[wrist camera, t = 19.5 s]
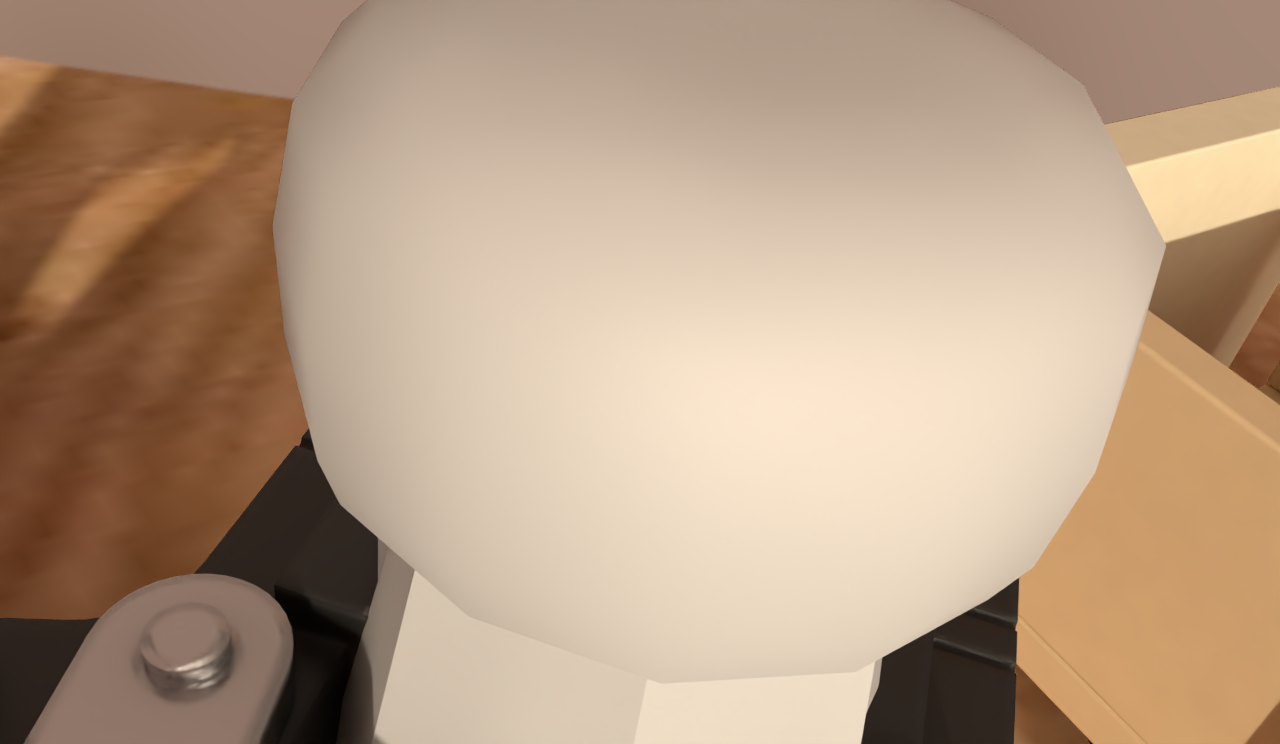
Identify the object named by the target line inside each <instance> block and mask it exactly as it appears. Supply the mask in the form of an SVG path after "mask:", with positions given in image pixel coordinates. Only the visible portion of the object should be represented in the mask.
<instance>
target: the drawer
mask: <svg viewBox="0 0 1280 744" xmlns="http://www.w3.org/2000/svg"><path fill="white" fill-rule="evenodd" d="M1104 125H1105V127H1106V129H1107V131H1108V133H1109V135H1110V137H1111V139H1112V141H1113V143H1114V145H1115V147H1116V148H1117V150H1118V152H1119V154H1120V156H1121V158H1122V160H1123V162H1124V164H1125V166H1126V168H1127V170H1128V172H1129V174H1130V176H1131V178H1132V180H1133V182H1134V184H1135V186H1136V188H1137V190H1138V192H1139V193H1140V195H1141V197H1142V199H1143V201H1144V203H1145V205H1146V207H1147V209H1148V211H1149V213H1150V215H1151V217H1152V219H1153V221H1154V223H1155V225H1156V227H1157V229H1158V231H1159V233H1160V235H1161V237H1162V238H1163V240H1164V242H1165V244H1166V248H1165V252H1164V255H1163V259H1162V262H1161V266H1160V269H1159V273H1158V276H1157V280H1156V283H1155V287H1154V290H1153V294H1152V297H1151V301H1150V304H1149V308H1148V311H1147V315H1146V318H1145V321H1144V325H1143V328H1142V332H1141V335H1140V339H1139V342H1138V346H1137V349H1136V353H1135V356H1134V360H1133V363H1132V366H1131V369H1130V372H1129V375H1128V378H1127V381H1126V384H1125V387H1124V390H1123V393H1122V395H1121V398H1120V401H1119V404H1118V407H1117V410H1116V413H1115V416H1114V419H1113V422H1112V425H1111V428H1110V431H1109V434H1108V437H1107V439H1106V442H1105V445H1104V448H1103V451H1102V454H1101V457H1100V460H1099V463H1098V466H1097V469H1096V472H1095V474H1094V475H1093V477H1092V478H1091V480H1090V481H1089V483H1088V485H1087V486H1086V488H1085V489H1084V491H1083V492H1082V494H1081V495H1080V497H1079V498H1078V500H1077V501H1076V503H1075V504H1074V506H1073V508H1072V509H1071V511H1070V512H1069V514H1068V515H1067V517H1066V518H1065V520H1064V521H1063V523H1062V524H1061V526H1060V527H1059V529H1058V530H1057V532H1056V534H1055V535H1054V537H1053V538H1052V540H1051V541H1050V543H1049V544H1048V546H1047V547H1046V549H1045V550H1044V552H1043V553H1042V555H1041V556H1040V558H1039V560H1038V561H1037V563H1036V564H1035V566H1034V567H1033V568H1032V569H1030V570H1029V571H1028V572H1026V573H1025V574H1023V575H1022V576H1021V577H1019V601H1018V622H1017V625H1016V629H1015V631H1017V660H1016V664H1017V665H1018V666H1019V667H1020V668H1021V669H1022V670H1023V671H1024V672H1025V674H1026V675H1027V676H1028V677H1029V678H1030V679H1031V680H1032V681H1033V682H1034V683H1035V684H1036V685H1037V686H1038V687H1039V688H1040V689H1041V690H1042V691H1043V692H1044V693H1045V694H1046V695H1047V696H1048V697H1049V699H1050V700H1051V701H1052V702H1053V703H1054V704H1055V705H1056V706H1057V707H1058V708H1059V709H1060V710H1061V711H1062V712H1063V713H1064V714H1065V715H1066V716H1067V717H1068V718H1069V719H1070V720H1071V721H1072V723H1073V724H1074V725H1075V726H1076V727H1077V728H1078V729H1079V730H1080V731H1081V732H1082V733H1083V734H1084V735H1085V736H1086V737H1087V738H1088V739H1089V740H1090V741H1091V742H1092V743H1093V744H1280V362H1279V363H1278V365H1277V366H1276V368H1275V370H1274V371H1273V373H1272V374H1271V376H1270V378H1269V379H1268V384H1266V385H1263V386H1261V387H1259V388H1256V387H1254V386H1253V385H1252V384H1250V383H1249V382H1247V381H1246V380H1245V379H1243V378H1242V377H1241V376H1239V375H1238V374H1236V373H1235V372H1234V371H1232V370H1231V369H1229V368H1228V367H1229V366H1230V364H1231V363H1232V361H1233V359H1234V358H1235V356H1236V354H1237V353H1238V351H1239V349H1240V348H1241V346H1242V344H1243V343H1244V341H1245V339H1246V337H1247V336H1248V334H1249V332H1250V331H1251V329H1252V327H1253V326H1254V324H1255V322H1256V321H1257V319H1258V317H1259V316H1260V314H1261V312H1262V311H1263V309H1264V307H1265V306H1266V304H1267V302H1268V301H1269V299H1270V297H1271V296H1272V294H1273V292H1274V291H1275V289H1276V287H1277V285H1278V284H1279V282H1280V86H1279V87H1274V88H1270V89H1265V90H1261V91H1256V92H1251V93H1247V94H1242V95H1237V96H1233V97H1229V98H1224V99H1219V100H1214V101H1210V102H1205V103H1201V104H1196V105H1192V106H1187V107H1182V108H1177V109H1173V110H1168V111H1164V112H1159V113H1154V114H1149V115H1145V116H1140V117H1136V118H1131V119H1126V120H1122V121H1117V122H1112V123H1108V124H1104Z"/></svg>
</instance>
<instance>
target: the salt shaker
mask: <svg viewBox="0 0 1280 744" xmlns="http://www.w3.org/2000/svg"><path fill="white" fill-rule="evenodd" d="M272 228H273V237H274V246H275V255H276V264H277V273H278V282H279V291H280V300H281V309H282V318H283V328H284V335H285V339H286V343H287V346H288V350H289V354H290V358H291V362H292V365H293V369H294V373H295V377H296V381H297V385H298V388H299V392H300V396H301V400H302V404H303V407H304V411H305V415H306V419H307V423H308V426H309V430H310V434H311V438H312V442H313V445H314V449H315V453H316V457H317V461H318V463H319V465H320V467H321V469H322V471H323V472H324V474H325V476H326V478H327V480H328V482H329V484H330V486H331V488H332V490H333V492H334V494H335V496H336V498H337V499H338V501H339V503H340V505H341V506H342V507H344V508H345V509H346V510H347V511H348V512H349V513H350V514H352V515H353V516H354V517H355V518H356V519H357V520H358V521H360V522H361V523H362V524H363V525H364V526H365V527H366V528H368V529H369V530H370V531H371V532H372V533H373V534H374V535H376V536H377V537H378V583H377V586H376V590H375V593H374V596H373V600H372V603H371V606H370V610H369V613H368V615H369V617H368V620H367V622H366V625H365V627H364V630H363V633H362V637H361V640H360V643H359V646H358V650H357V653H356V656H355V660H354V663H353V666H352V670H351V673H350V676H349V680H348V683H347V686H346V690H345V693H344V696H343V701H342V708H341V714H340V721H339V727H338V734H337V740H336V744H861V741H862V735H863V729H864V723H865V717H866V713H867V711H868V708H869V706H870V704H871V702H872V700H873V697H874V695H875V693H876V691H877V689H878V686H879V679H880V671H881V663H882V657H884V656H886V655H888V654H889V653H891V652H893V651H895V650H897V649H899V648H900V647H902V646H904V645H906V644H908V643H910V642H911V641H913V640H915V639H917V638H919V637H921V636H922V635H924V634H926V633H928V632H930V631H932V630H933V629H935V628H937V627H939V626H941V625H943V624H944V623H946V622H948V621H950V620H952V619H954V618H955V617H957V616H959V615H961V614H963V613H964V612H966V611H968V610H970V609H972V608H974V607H975V606H977V605H979V604H981V603H983V602H985V601H986V600H988V599H990V598H991V597H992V596H994V595H995V594H997V593H998V592H999V591H1001V590H1002V589H1004V588H1005V587H1006V586H1008V585H1009V584H1011V583H1012V582H1014V581H1015V580H1016V579H1018V578H1019V577H1021V576H1022V575H1023V574H1025V573H1026V572H1028V571H1029V570H1030V569H1032V568H1033V567H1034V566H1035V564H1036V563H1037V561H1038V560H1039V558H1040V556H1041V555H1042V553H1043V552H1044V550H1045V549H1046V547H1047V546H1048V544H1049V543H1050V541H1051V540H1052V538H1053V537H1054V535H1055V534H1056V532H1057V530H1058V529H1059V527H1060V526H1061V524H1062V523H1063V521H1064V520H1065V518H1066V517H1067V515H1068V514H1069V512H1070V511H1071V509H1072V508H1073V506H1074V504H1075V503H1076V501H1077V500H1078V498H1079V497H1080V495H1081V494H1082V492H1083V491H1084V489H1085V488H1086V486H1087V485H1088V483H1089V481H1090V480H1091V478H1092V477H1093V475H1094V474H1095V472H1096V469H1097V466H1098V463H1099V460H1100V457H1101V454H1102V451H1103V448H1104V445H1105V442H1106V439H1107V437H1108V434H1109V431H1110V428H1111V425H1112V422H1113V419H1114V416H1115V413H1116V410H1117V407H1118V404H1119V401H1120V398H1121V395H1122V393H1123V390H1124V387H1125V384H1126V381H1127V378H1128V375H1129V372H1130V369H1131V366H1132V363H1133V360H1134V356H1135V353H1136V349H1137V346H1138V342H1139V339H1140V335H1141V332H1142V328H1143V325H1144V321H1145V318H1146V315H1147V311H1148V308H1149V304H1150V301H1151V297H1152V294H1153V290H1154V287H1155V283H1156V280H1157V276H1158V273H1159V269H1160V266H1161V262H1162V259H1163V255H1164V252H1165V248H1166V244H1165V242H1164V240H1163V238H1162V237H1161V235H1160V233H1159V231H1158V229H1157V227H1156V225H1155V223H1154V221H1153V219H1152V217H1151V215H1150V213H1149V211H1148V209H1147V207H1146V205H1145V203H1144V201H1143V199H1142V197H1141V195H1140V193H1139V192H1138V190H1137V188H1136V186H1135V184H1134V182H1133V180H1132V178H1131V176H1130V174H1129V172H1128V170H1127V168H1126V166H1125V164H1124V162H1123V160H1122V158H1121V156H1120V154H1119V152H1118V150H1117V148H1116V147H1115V145H1114V143H1113V141H1112V139H1111V137H1110V135H1109V133H1108V131H1107V129H1106V127H1105V125H1104V123H1103V121H1102V119H1101V118H1100V115H1099V114H1098V112H1097V110H1096V108H1095V106H1094V104H1093V102H1092V100H1091V98H1090V96H1089V94H1088V92H1087V90H1086V88H1085V86H1084V84H1082V83H1081V82H1080V81H1078V80H1077V79H1076V78H1074V77H1073V76H1071V75H1070V74H1069V73H1067V72H1066V71H1064V70H1063V69H1062V68H1060V67H1059V66H1058V65H1056V64H1055V63H1053V62H1052V61H1051V60H1049V59H1048V58H1047V57H1045V56H1044V55H1042V54H1041V53H1040V52H1038V51H1037V50H1035V49H1034V48H1033V47H1031V46H1030V45H1029V44H1027V43H1026V42H1024V41H1023V40H1022V39H1020V38H1019V37H1018V36H1016V35H1015V34H1013V33H1012V32H1011V31H1009V30H1008V29H1006V28H1005V27H1004V26H1002V25H1001V24H1000V23H998V22H996V21H995V20H994V19H993V18H991V17H988V16H986V15H984V14H982V13H979V12H977V11H975V10H972V9H970V8H967V7H965V6H963V5H961V4H959V3H956V2H954V1H952V0H367V1H366V2H364V3H363V4H362V5H361V6H360V7H359V8H357V9H356V10H355V11H354V12H353V13H352V14H350V15H349V16H348V17H347V18H346V19H345V20H343V21H342V23H341V24H340V26H339V28H338V29H337V31H336V33H335V34H334V36H333V38H332V39H331V41H330V43H329V44H328V46H327V47H326V49H325V51H324V52H323V54H322V56H321V57H320V59H319V60H318V62H317V64H316V65H315V67H314V69H313V70H312V72H311V74H310V75H309V77H308V79H307V80H306V82H305V83H304V85H303V87H302V88H301V90H300V92H299V93H298V95H297V97H296V98H295V100H294V101H293V103H292V108H291V114H290V120H289V127H288V133H287V139H286V145H285V151H284V158H283V164H282V170H281V176H280V182H279V189H278V195H277V201H276V207H275V213H274V220H273V226H272Z"/></svg>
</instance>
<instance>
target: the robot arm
mask: <svg viewBox="0 0 1280 744" xmlns="http://www.w3.org/2000/svg"><path fill="white" fill-rule="evenodd" d="M377 583H378V537H377V536H376V535H374V534H373V533H372V532H371V531H370V530H369V529H368V528H366V527H365V526H364V525H363V524H362V523H361V522H360V521H358V520H357V519H356V518H355V517H354V516H353V515H352V514H350V513H349V512H348V511H347V510H346V509H345V508H344V507H342V506H341V505H340V503H339V501H338V499H337V498H336V496H335V494H334V492H333V490H332V488H331V486H330V484H329V482H328V480H327V478H326V476H325V474H324V472H323V471H322V469H321V467H320V465H319V463H318V461H317V457H316V453H315V449H314V445H313V442H312V438H311V434H310V430H309V429H308V430H307V432H306V433H305V434H304V435H303V437H302V441H301V444H300V445H299V446H295V447H294V448H293V450H292V451H291V452H290V453H289V455H288V456H287V457H286V458H285V460H284V461H283V462H282V464H281V465H280V466H279V467H278V469H277V470H276V471H275V473H274V474H273V475H272V476H271V478H270V479H269V480H268V482H267V483H266V484H265V485H264V487H263V488H262V489H261V490H260V492H259V493H258V494H257V496H256V497H255V498H254V499H253V501H252V502H251V503H250V505H249V506H248V507H247V508H246V510H245V511H244V512H243V514H242V515H241V516H240V517H239V519H238V520H237V521H236V522H235V524H234V525H233V526H232V528H231V529H230V530H229V531H228V533H227V534H226V535H225V537H224V538H223V539H222V540H221V542H220V543H219V544H218V546H217V547H216V548H215V549H214V551H213V552H212V553H211V554H210V556H209V557H208V558H207V560H206V561H205V562H204V563H203V564H202V566H201V567H200V568H199V569H198V570H197V571H196V572H195V573H194V574H188V575H181V576H175V577H171V578H167V579H163V580H160V581H156V582H154V583H151V584H149V585H147V586H144V587H142V588H139V589H138V590H136V591H134V592H132V593H131V594H129V595H127V596H125V597H124V598H122V599H121V600H120V601H118V602H117V603H116V604H114V605H113V606H112V607H110V608H109V609H108V610H107V611H106V612H105V613H104V614H103V615H102V616H101V617H100V618H93V619H85V620H52V619H22V618H0V744H336V740H337V734H338V727H339V721H340V714H341V708H342V701H343V696H344V693H345V690H346V686H347V683H348V680H349V676H350V673H351V670H352V666H353V663H354V660H355V656H356V653H357V650H358V646H359V643H360V640H361V637H362V633H363V630H364V627H365V625H366V622H367V620H368V617H369V615H368V613H369V610H370V606H371V603H372V600H373V596H374V593H375V590H376V586H377ZM1018 601H1019V578H1018V579H1016V580H1015V581H1014V582H1012V583H1011V584H1009V585H1008V586H1006V587H1005V588H1004V589H1002V590H1001V591H999V592H998V593H997V594H995V595H994V596H992V597H991V598H990V599H988V600H986V601H985V602H983V603H981V604H979V605H977V606H975V607H974V608H972V609H970V610H968V611H966V612H964V613H963V614H961V615H959V616H957V617H955V618H954V619H952V620H950V621H948V622H946V623H944V624H943V625H941V626H939V627H937V628H935V629H933V630H932V631H930V632H928V633H926V634H924V635H922V636H921V637H919V638H917V639H915V640H913V641H911V642H910V643H908V644H906V645H904V646H902V647H900V648H899V649H897V650H895V651H893V652H891V653H889V654H888V655H886V656H884V657H882V663H881V671H880V679H879V686H878V689H877V691H876V693H875V695H874V697H873V700H872V702H871V704H870V706H869V708H868V711H867V713H866V717H865V723H864V729H863V735H862V741H861V744H1014V719H1015V690H1016V674H1014V668H1015V665H1016V660H1017V631H1015V629H1016V625H1017V622H1018Z"/></svg>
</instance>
